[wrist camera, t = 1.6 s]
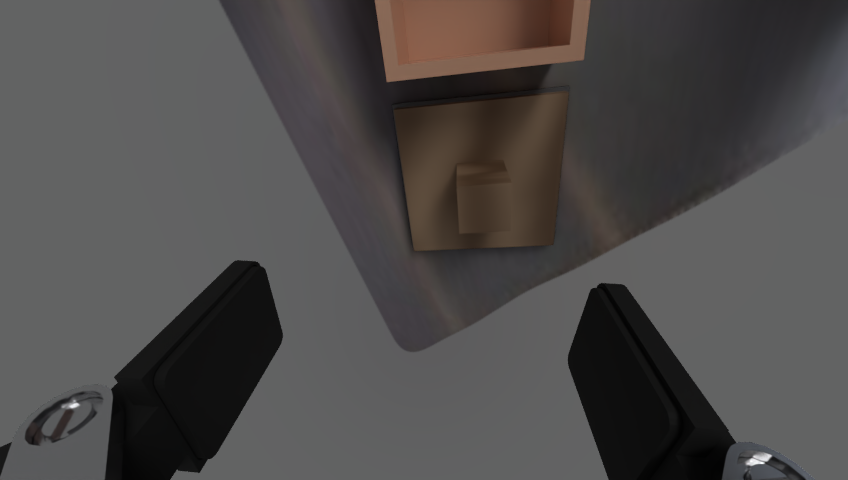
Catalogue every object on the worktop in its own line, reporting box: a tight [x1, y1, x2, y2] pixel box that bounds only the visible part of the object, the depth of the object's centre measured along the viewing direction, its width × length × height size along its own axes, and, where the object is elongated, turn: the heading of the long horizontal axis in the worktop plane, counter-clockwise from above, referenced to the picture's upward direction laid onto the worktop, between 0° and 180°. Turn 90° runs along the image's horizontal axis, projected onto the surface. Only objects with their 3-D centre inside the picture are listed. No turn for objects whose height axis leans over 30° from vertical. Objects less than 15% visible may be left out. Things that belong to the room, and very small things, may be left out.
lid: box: [394, 91, 569, 251], centre depth 25 cm, size 12×12×6 cm
